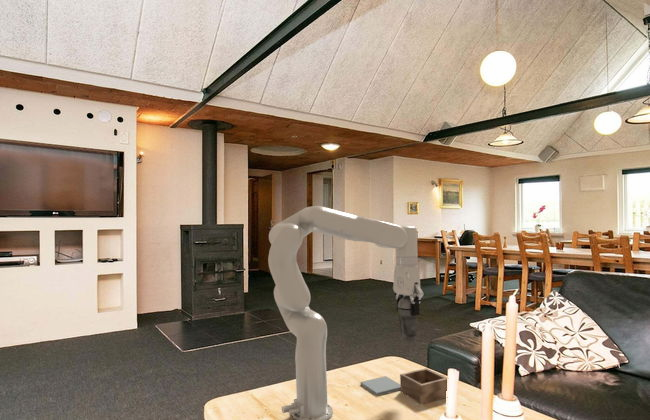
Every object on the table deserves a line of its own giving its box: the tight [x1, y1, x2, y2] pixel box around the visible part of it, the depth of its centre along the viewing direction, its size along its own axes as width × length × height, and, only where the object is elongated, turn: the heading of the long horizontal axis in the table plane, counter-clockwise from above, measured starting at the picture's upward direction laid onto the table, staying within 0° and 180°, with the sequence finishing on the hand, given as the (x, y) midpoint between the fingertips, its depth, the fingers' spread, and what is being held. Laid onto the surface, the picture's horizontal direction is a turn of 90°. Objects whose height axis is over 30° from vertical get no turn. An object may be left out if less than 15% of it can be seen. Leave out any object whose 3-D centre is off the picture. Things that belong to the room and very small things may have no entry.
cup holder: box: [399, 367, 448, 405], centre depth 138 cm, size 11×11×6 cm
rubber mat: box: [360, 375, 401, 397], centre depth 146 cm, size 11×11×1 cm
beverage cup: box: [396, 296, 418, 344], centre depth 141 cm, size 7×7×20 cm
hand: (407, 312), depth 141 cm, fingers closed on beverage cup, 7 cm apart
